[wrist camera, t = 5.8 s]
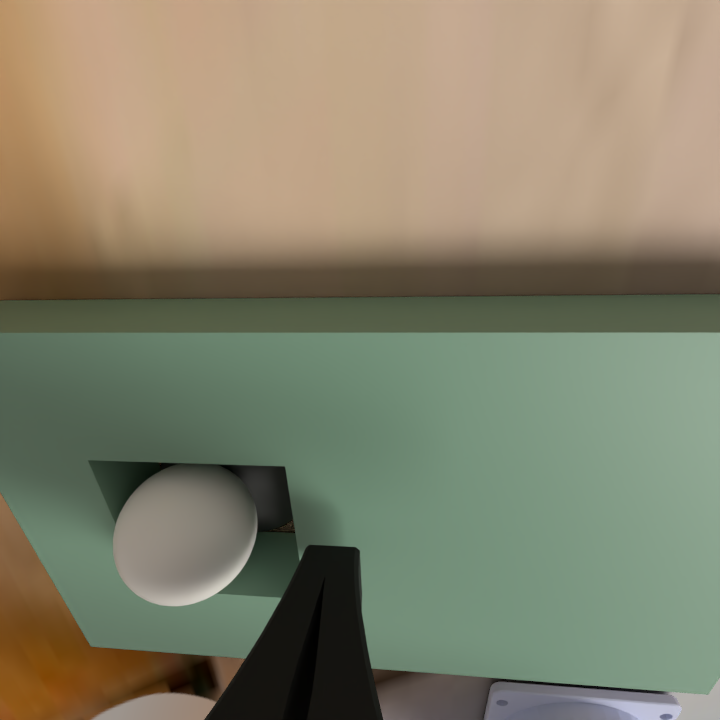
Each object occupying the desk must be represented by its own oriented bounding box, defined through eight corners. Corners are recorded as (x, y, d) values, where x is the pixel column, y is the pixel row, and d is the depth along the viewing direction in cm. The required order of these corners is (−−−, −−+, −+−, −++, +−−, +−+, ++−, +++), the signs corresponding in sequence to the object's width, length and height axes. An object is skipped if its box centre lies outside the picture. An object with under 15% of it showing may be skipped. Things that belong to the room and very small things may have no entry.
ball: (224, 506, 15) (293, 557, 13) (119, 587, 13) (183, 670, 10) (194, 422, 14) (269, 463, 11) (65, 496, 11) (128, 570, 9)
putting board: (663, 617, 15) (708, 694, 13) (130, 584, 17) (91, 646, 15) (825, 293, 10) (954, 332, 7) (0, 299, 12) (-93, 332, 9)
